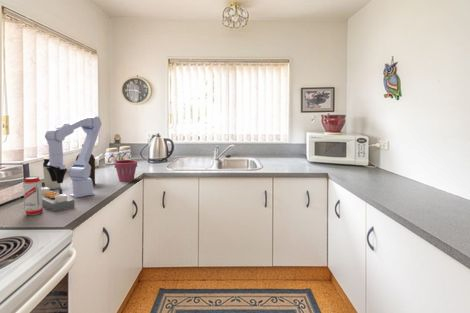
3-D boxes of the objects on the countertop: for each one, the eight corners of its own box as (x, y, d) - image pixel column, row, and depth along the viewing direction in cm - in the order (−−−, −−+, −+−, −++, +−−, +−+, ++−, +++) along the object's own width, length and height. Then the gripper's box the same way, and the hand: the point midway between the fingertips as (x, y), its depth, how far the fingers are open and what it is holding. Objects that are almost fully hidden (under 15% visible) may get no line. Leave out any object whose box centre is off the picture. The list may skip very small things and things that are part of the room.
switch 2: (58, 196, 146) (57, 194, 146) (60, 196, 144) (59, 194, 144) (50, 198, 143) (49, 195, 143) (52, 198, 141) (51, 195, 141)
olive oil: (100, 183, 190) (98, 144, 186) (86, 187, 180) (84, 145, 176) (87, 182, 193) (85, 143, 190) (73, 185, 183) (70, 144, 180)
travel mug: (55, 189, 173) (53, 158, 171) (41, 189, 173) (39, 158, 171) (63, 186, 181) (61, 156, 178) (50, 186, 181) (48, 156, 179)
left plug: (46, 191, 154) (46, 180, 154) (49, 193, 152) (49, 181, 151) (38, 193, 151) (37, 181, 150) (40, 194, 149) (40, 183, 148)
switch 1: (52, 194, 150) (51, 191, 150) (54, 193, 148) (53, 191, 148) (44, 195, 147) (43, 193, 147) (46, 195, 146) (45, 192, 146)
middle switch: (55, 195, 148) (54, 192, 148) (57, 195, 146) (56, 192, 146) (47, 196, 145) (46, 194, 145) (48, 196, 143) (48, 194, 143)
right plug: (64, 199, 142) (63, 186, 141) (67, 200, 140) (66, 188, 139) (54, 200, 139) (54, 188, 138) (58, 202, 137) (57, 189, 136)
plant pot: (130, 183, 192) (130, 163, 191) (110, 182, 195) (109, 162, 193) (141, 178, 206) (141, 160, 205) (122, 177, 209) (121, 159, 207)
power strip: (51, 197, 158) (51, 190, 157) (74, 207, 142) (74, 199, 141) (32, 200, 151) (31, 194, 150) (53, 211, 135) (53, 204, 134)
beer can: (32, 211, 135) (29, 176, 133) (46, 211, 135) (43, 176, 133) (22, 215, 129) (19, 179, 127) (36, 216, 129) (33, 179, 126)
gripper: (40, 153, 146) (42, 181, 148) (53, 156, 137) (54, 185, 139) (56, 152, 152) (57, 179, 153) (69, 155, 143) (70, 183, 145)
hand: (57, 182), depth 147 cm, fingers open, 6 cm apart
